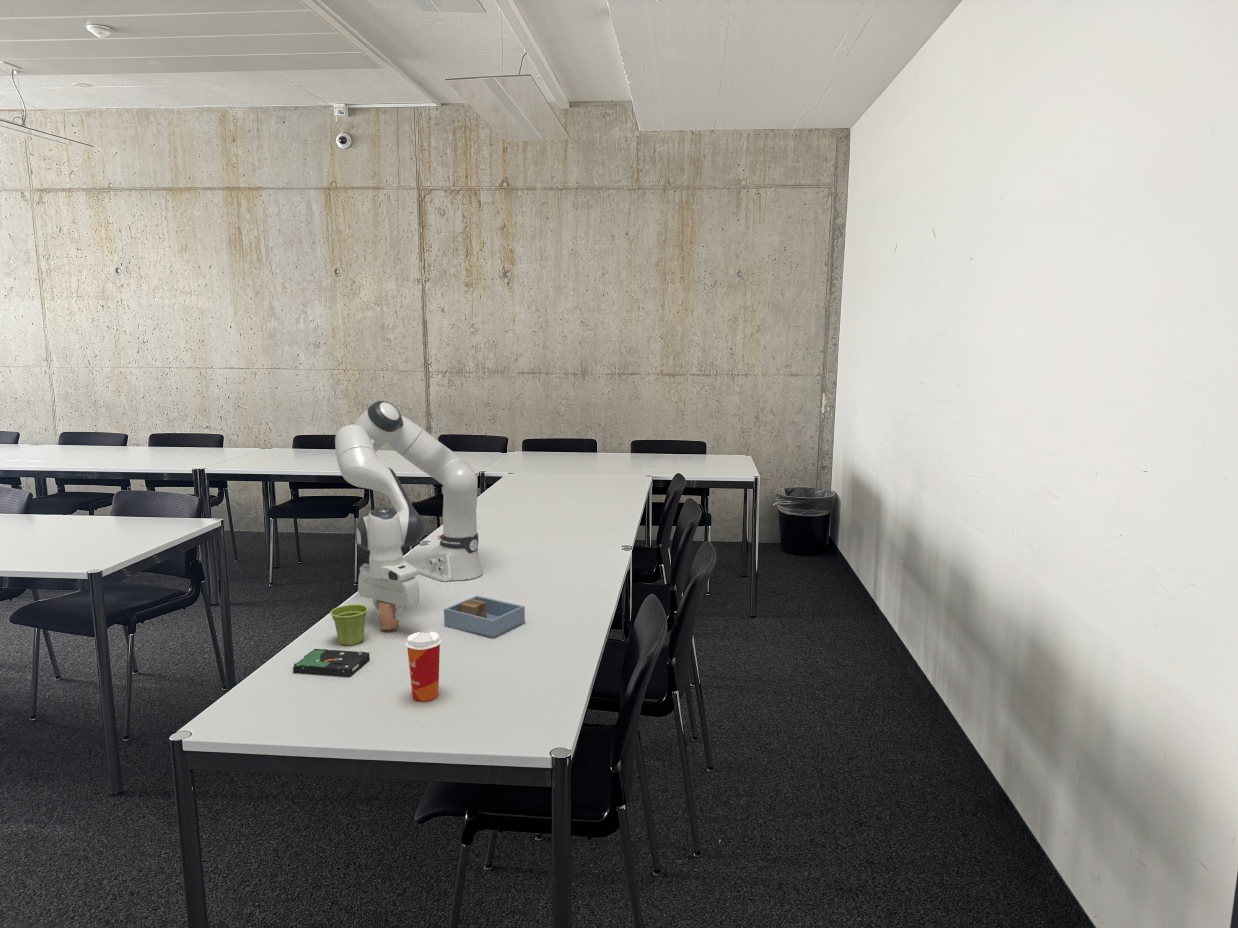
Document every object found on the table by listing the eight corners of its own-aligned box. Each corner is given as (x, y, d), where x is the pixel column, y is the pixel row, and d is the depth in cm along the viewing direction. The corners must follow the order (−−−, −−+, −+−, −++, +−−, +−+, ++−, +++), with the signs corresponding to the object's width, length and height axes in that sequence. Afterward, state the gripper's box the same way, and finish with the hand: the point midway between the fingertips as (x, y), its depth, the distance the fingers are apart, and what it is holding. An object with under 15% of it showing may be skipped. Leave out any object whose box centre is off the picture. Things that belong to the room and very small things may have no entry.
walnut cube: (474, 624, 217) (474, 607, 216) (461, 621, 220) (460, 604, 219) (486, 619, 221) (486, 602, 221) (473, 615, 224) (472, 599, 223)
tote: (444, 626, 217) (443, 609, 217) (477, 611, 229) (476, 595, 228) (493, 638, 208) (492, 620, 208) (524, 623, 220) (524, 606, 219)
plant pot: (334, 650, 200) (333, 618, 199) (329, 638, 208) (328, 607, 207) (372, 644, 204) (370, 612, 203) (366, 632, 212) (364, 602, 211)
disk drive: (370, 662, 195) (314, 658, 197) (370, 651, 194) (314, 647, 196) (350, 679, 184) (292, 675, 187) (350, 668, 184) (291, 664, 186)
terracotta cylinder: (376, 626, 214) (374, 602, 212) (390, 621, 218) (388, 597, 217) (389, 630, 211) (387, 605, 210) (402, 624, 215) (401, 600, 214)
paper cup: (411, 689, 178) (408, 630, 176) (445, 688, 179) (443, 629, 177) (404, 704, 171) (402, 644, 168) (440, 703, 171) (438, 643, 169)
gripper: (351, 565, 214) (353, 613, 217) (404, 576, 204) (407, 626, 206) (369, 559, 220) (371, 606, 222) (422, 570, 209) (424, 619, 212)
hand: (389, 616), depth 214 cm, fingers closed on terracotta cylinder, 5 cm apart
